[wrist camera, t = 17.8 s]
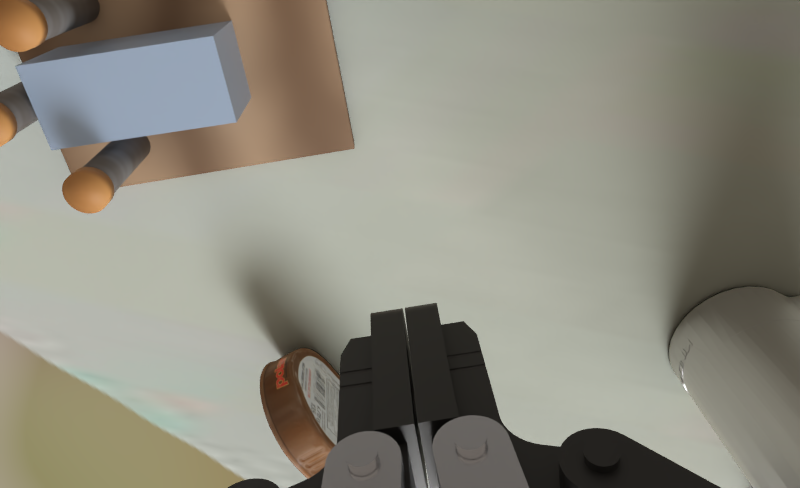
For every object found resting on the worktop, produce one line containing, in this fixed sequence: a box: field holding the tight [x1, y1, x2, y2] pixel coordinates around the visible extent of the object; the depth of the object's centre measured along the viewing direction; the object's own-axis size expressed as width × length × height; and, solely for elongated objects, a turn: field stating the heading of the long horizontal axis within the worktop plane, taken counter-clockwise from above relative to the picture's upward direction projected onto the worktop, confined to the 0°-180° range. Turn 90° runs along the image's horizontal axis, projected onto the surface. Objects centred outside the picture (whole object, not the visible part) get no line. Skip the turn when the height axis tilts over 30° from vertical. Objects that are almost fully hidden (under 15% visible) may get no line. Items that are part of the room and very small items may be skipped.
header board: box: [0, 0, 354, 213], centre depth 29 cm, size 16×12×8 cm
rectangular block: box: [15, 21, 251, 150], centre depth 30 cm, size 4×9×4 cm, turn 98°
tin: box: [260, 348, 340, 479], centre depth 41 cm, size 15×3×8 cm, turn 31°
